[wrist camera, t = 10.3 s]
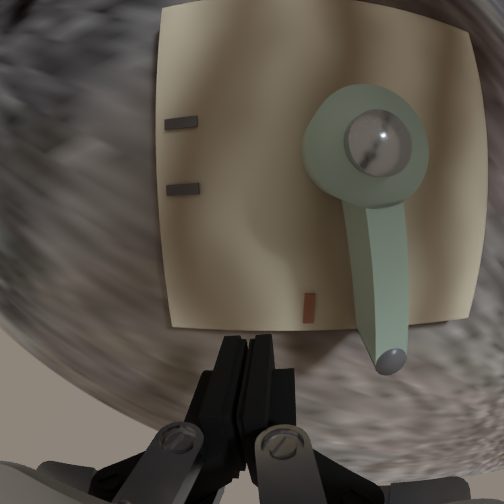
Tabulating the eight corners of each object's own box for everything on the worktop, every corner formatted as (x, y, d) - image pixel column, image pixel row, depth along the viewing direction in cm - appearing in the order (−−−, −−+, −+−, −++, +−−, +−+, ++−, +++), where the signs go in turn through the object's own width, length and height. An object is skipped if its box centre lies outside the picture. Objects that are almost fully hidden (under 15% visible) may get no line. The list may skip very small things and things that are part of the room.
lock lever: (291, 113, 13) (298, 84, 8) (379, 103, 12) (421, 76, 8) (330, 341, 16) (346, 397, 11) (405, 323, 15) (439, 370, 11)
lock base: (458, 39, 12) (469, 31, 10) (458, 308, 17) (469, 318, 15) (170, 18, 13) (161, 6, 12) (179, 315, 18) (171, 328, 17)
